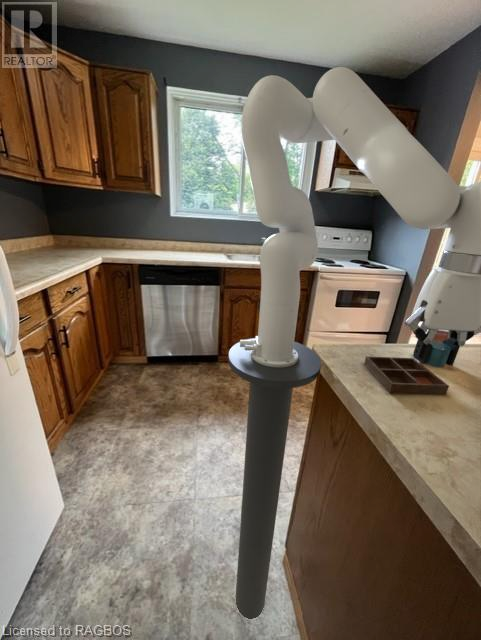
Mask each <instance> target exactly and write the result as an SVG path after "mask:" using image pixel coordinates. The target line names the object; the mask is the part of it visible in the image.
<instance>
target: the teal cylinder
mask: <svg viewBox="0 0 481 640" xmlns="http://www.w3.org/2000/svg"><path fill="white" fill-rule="evenodd" d="M430 344H431V345H433V347H432V350H431V353H430V356H429V359H428V361H427V363H426V364H427V365H426V366H430V367H433V368H441V367H444V366H445V364H446V362H447V359H448V357H449V354H450V351H451V347H450V346H448V345H446V344H444V343H442V342H438V341H433V340H432V341H431V343H430Z"/></svg>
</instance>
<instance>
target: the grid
mask: <svg viewBox="0 0 481 640" xmlns="http://www.w3.org/2000/svg"><path fill="white" fill-rule="evenodd" d="M363 365H364V366H365V368H366V369H367V370H368V371H369V372H370V374H372V375H373V377H374V378H376V380H377V381H378V382H379V383H380V384H381V385H382V386H383V388H384V389H385V390H386V391H387V392H388V393H389V394H394V395H395V394H397V395H399V394H401V395H425V396H426V395H428V396H429V395H432V396H446V395H447V393H448V390H449V388H450V385H449V384H447V382H445V381H444V380H442V379H441V378H440V377H439V376H437V375H436V374H435V373H434V372H432V371H431V370H429V369H428V368H427V367H426V366H424V364H420V363H419V362H418V361H417V360H416V359H415V358H414V357H394V356H393V357H389V356H365V358H364V363H363Z"/></svg>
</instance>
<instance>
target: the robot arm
mask: <svg viewBox="0 0 481 640" xmlns="http://www.w3.org/2000/svg"><path fill="white" fill-rule="evenodd" d="M240 134H241V142H242V146H243V151H244V155H245V159H246V163H247V166H248V172H249V179H250V183H251V189H252V194H253V199H254V204H255V205H254V206H255V210H256V214H257V217H258V219H259V221H260V222H261V224H262V225H264V226H266V227H268V228H271V229H272V228H273V229H278V230H279V232H277V233H274V234H272V235H270V236H269V237H268V238H267V239H266V240H265V241H264V242H263V244H262V246H261V249H260V252H259V267H260V268H259V269H260V278H261V279H260V283H261V284H260V300H259V301H260V303H259V314H258V317H259V318H258V327H257V335H255V338H256V339H252V341H250V340H247V339H240V340H239V342H240V347H245V350H249V351H250V350H251V357H252V358H253V359H254V360H255V361H256V362H258V363H260V364H262V365H265V366H269V367H276V368H282V367H289V366H292V365H294V364H295V363H296V362H297V361H298V353H297V352H296V350H294V349H293V347H294V342H295V338H296V330H297V322H298V315H299V314H298V313H299V306H300V298H301V278H300V272H301V271H303V270H306V269H309V268H310V267H311V266H312V265H313V264H314V263H315V262H316V260H317V258H318V254H319V242H318V237H317V236H318V235H317V230H316V225H315V224H316V223H315V217H314V213H313V207H312V204H311V200H310V199H309V196H308V195H307V194H306V192H305V191H304V190H302V189H300V188H298V187H295V186H293V184H292V181H291V177H290V173H289V167H288V160H287V156H286V153H285V151H284V148H283V144H282V142H281V139H283V140H284V141H286V142H288V143H293V144H305V143H315V142H326V141H335V142H336V143H337V145H338V146H339V147H340V148H341V149H342V151H343V152H345V155H347V157H348V158H349V159H350V160H351V162H352V163H353V164H354V165H355V166H356V168H357V169H358V170H359V171H360V173H362V174H363V175H365V176H366V177H367V178H368V180H369V181H370V182H371V183H372V185H373V186H374V187H375V188H376V190H378V192H379V193H380V194H381V195H382V196H383V198H384V199H385V200H386V201H387V203H388V204H389V205H390V207H392V208H393V209H394V211H395V212H396V213H397V215H398V216H399V217H400V218H401V219H402V220H403V221H404V223H406V224H407V225H409V226H410V227H412V228H416V229H419V230H434V229H435V230H436V229H449V233H448V235H447V238H446V242H445V245H444V248H443V250H442V254H441V257H440V260H439V263H438V267H437V269H434V268H432V269H431V271H430V272H429V275H428V276H427V277H426V279H425V281H424V283H423V285H422V287H421V289H420V292H419V294H418V296H417V299H416V301H415V304H414V307H413V309H412V313H411V316H409V317H408V318H407V319H406V320H405V321H404V325H405V326H406V327H407V328H408V329H410V330H411V332H412V334H414V337H415V338H416V339H417V341H416V343H415V347H414V350H413V354H412V356H413V357H412V358H414V359H415V360H416V359H417V360H418V361H419V362H420V363H422V365H425V364H426V363H427V361H428V359H429V356H430V353H431V350H432V347H433V345H431V344H430V343H431V341H432V340H433V338H434V336H435V335H436V333H437V331H438V330H449V332H448V340H447V339H444V341H443V343H444V344H446V345H448V346H450V347H451V351H450V354H449V357H448V359H447V362H446V364H447V365H453V366H454V364H455V361H456V359H455V358H457V356H458V353H459V351H460V347H463V346H465V345H466V342H467V341H469V340H470V339H472V338H473V337H474V336H476V335H478V334H481V181H477V182H474V183H471V184H469V185H467V186H466V185H458V184H457V182H456V181H455V180H454V179H453V177H452V176H451V175H450V174H449V173H448V172H447V171H446V169H445V168H443V166H442V165H441V164H440V163H439V162H438V161H437V160H436V158H435V157H434V156H432V154H431V153H430V152H429V151H428V150H427V149H426V148H425V147H424V146H423V145H422V144H421V142H419V140H417V139H416V138H415V136H414V135H412V134H411V133H410V131H409V130H408V129H407V127H406V126H405V125H404V123H402V122H401V121H400V120H399V119H398V118H397V117H396V115H395V114H394V113H393V112H392V111H391V110H390V109H389V108H388V107H387V106H386V104H384V103H383V101H381V99H380V98H379V97H378V96H377V95H376V94H375V93H374V91H373V90H372V88H370V87H369V86H368V85H367V83H365V81H364V80H363V79H362V78H361V77H360V76H359V75H358V74H357V73H356V72H355V71H353V70H352V69H350V68H348V67H345V66H336V67H333V68H331V69H329V70H328V71H326V72H325V73H323V75H321V77H320V78H319V80H318V81H317V83H316V85H315V87H314V90H313V94H312V97H306V96H305V95H304V94H303V93H302V92H301V91H300V90H299V89H298V88H297V86H295V85H294V84H292V82H291V81H289V80H287V79H286V78H284V77H281V76H279V75H273V74H271V75H267V76H264V77H262V78H260V79H259V80H258V81H257V82H255V83H254V86H253V87H252V88H251V90H250V91H249V93H248V95H247V98H246V99H245V102H244V105H243V109H242V113H241V121H240ZM419 323H421V324H420V325H419ZM428 329H429V330H428ZM427 330H428V332H427V334H426V331H427ZM458 350H459V351H458ZM456 355H457V356H456ZM454 360H455V361H454ZM453 363H454V364H453Z"/></svg>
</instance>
